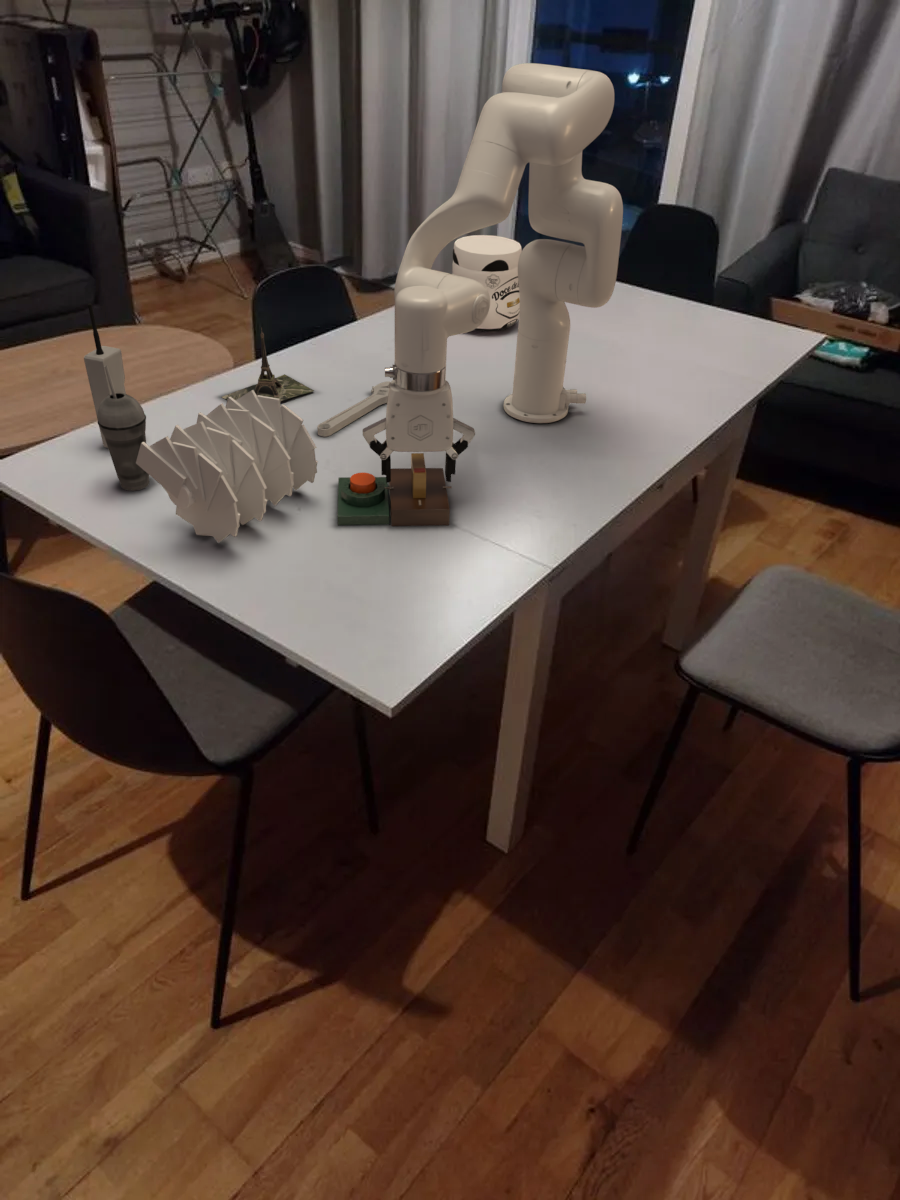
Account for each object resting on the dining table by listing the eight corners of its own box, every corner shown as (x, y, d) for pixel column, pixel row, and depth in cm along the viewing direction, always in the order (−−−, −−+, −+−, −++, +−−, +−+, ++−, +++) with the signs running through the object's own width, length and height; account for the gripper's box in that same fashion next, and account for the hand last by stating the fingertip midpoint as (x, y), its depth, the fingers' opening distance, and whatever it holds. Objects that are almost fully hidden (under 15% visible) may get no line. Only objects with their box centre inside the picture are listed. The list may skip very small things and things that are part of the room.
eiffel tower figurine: (251, 414, 166) (244, 346, 158) (221, 397, 171) (212, 329, 163) (314, 392, 174) (310, 326, 166) (284, 376, 180) (278, 311, 172)
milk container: (521, 339, 201) (528, 258, 190) (445, 335, 201) (448, 254, 190) (517, 312, 215) (524, 235, 204) (446, 309, 215) (449, 232, 204)
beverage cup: (133, 500, 140) (108, 381, 128) (102, 486, 143) (74, 369, 131) (167, 481, 145) (147, 365, 133) (136, 468, 148) (113, 354, 136)
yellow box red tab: (410, 477, 143) (411, 451, 140) (423, 477, 144) (423, 451, 141) (413, 498, 138) (413, 471, 135) (425, 498, 138) (426, 471, 136)
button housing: (338, 486, 146) (338, 467, 144) (387, 485, 147) (386, 467, 145) (337, 525, 137) (336, 506, 135) (389, 524, 138) (389, 505, 135)
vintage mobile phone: (139, 439, 156) (111, 298, 141) (122, 451, 153) (91, 308, 137) (121, 435, 157) (91, 295, 142) (103, 447, 154) (71, 305, 138)
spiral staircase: (311, 507, 148) (210, 575, 130) (233, 441, 150) (122, 499, 131) (349, 428, 136) (244, 490, 118) (264, 357, 137) (147, 408, 119)
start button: (350, 481, 141) (350, 472, 140) (375, 481, 142) (375, 472, 141) (350, 494, 138) (349, 485, 137) (375, 494, 139) (375, 484, 138)
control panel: (383, 484, 147) (383, 467, 145) (447, 483, 148) (448, 466, 146) (386, 526, 137) (385, 509, 135) (454, 525, 138) (455, 508, 136)
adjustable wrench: (325, 439, 160) (325, 430, 158) (300, 428, 163) (299, 419, 161) (414, 394, 175) (414, 386, 174) (389, 385, 178) (389, 377, 177)
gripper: (361, 386, 126) (363, 490, 136) (481, 386, 127) (474, 489, 138) (360, 365, 131) (363, 466, 142) (475, 365, 133) (469, 466, 143)
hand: (418, 477), depth 140 cm, fingers open, 9 cm apart
